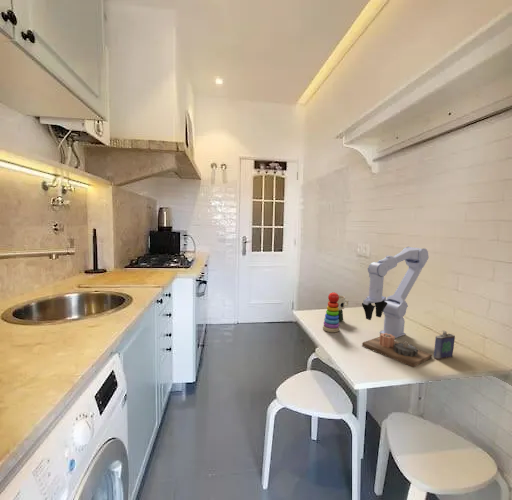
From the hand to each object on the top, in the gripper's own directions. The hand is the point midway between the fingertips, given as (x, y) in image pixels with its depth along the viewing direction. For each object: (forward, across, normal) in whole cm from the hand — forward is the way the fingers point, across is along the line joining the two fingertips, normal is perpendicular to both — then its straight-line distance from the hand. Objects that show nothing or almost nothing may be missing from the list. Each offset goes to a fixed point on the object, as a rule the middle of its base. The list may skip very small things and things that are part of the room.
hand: (373, 318), depth 138 cm
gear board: (+9, +4, +14) cm, 18 cm away
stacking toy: (+10, +8, -17) cm, 21 cm away
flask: (+10, -8, +27) cm, 30 cm away
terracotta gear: (+8, +4, +10) cm, 14 cm away
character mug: (+10, -6, -25) cm, 27 cm away
